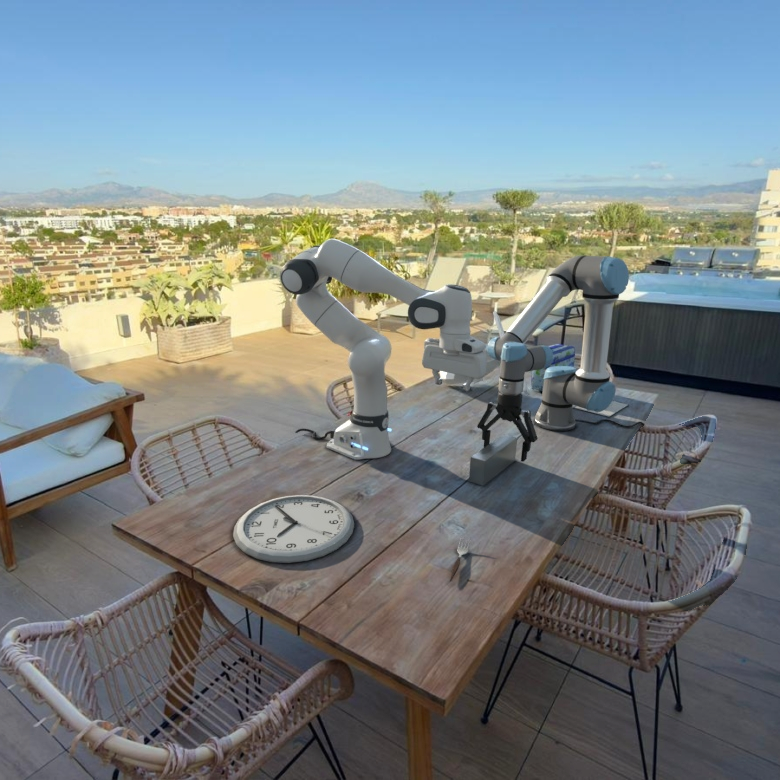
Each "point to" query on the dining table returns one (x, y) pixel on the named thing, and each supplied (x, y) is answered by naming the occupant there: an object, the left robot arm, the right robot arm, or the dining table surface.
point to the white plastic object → (491, 365)
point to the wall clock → (293, 529)
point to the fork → (461, 551)
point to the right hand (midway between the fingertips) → (504, 454)
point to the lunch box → (554, 363)
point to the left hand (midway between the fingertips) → (452, 387)
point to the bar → (492, 459)
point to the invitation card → (608, 409)
